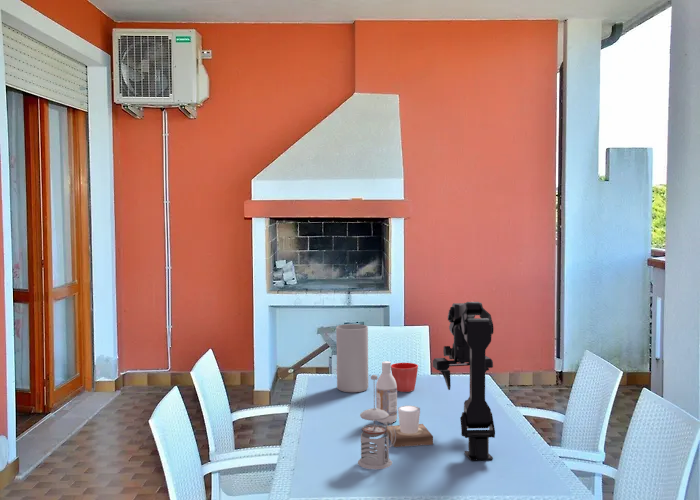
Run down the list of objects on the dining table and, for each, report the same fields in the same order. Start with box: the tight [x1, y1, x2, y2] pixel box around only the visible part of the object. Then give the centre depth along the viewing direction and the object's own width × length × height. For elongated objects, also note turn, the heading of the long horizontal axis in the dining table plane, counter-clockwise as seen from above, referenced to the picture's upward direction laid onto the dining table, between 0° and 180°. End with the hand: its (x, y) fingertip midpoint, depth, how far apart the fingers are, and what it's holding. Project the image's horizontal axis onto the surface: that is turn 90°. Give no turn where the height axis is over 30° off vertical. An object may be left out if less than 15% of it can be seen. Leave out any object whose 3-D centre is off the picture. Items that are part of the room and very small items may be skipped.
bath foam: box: [375, 360, 398, 424], centre depth 222 cm, size 7×7×20 cm
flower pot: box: [391, 362, 419, 393], centre depth 261 cm, size 11×11×10 cm
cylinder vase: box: [335, 323, 369, 393], centre depth 263 cm, size 12×12×25 cm
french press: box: [357, 374, 396, 470], centre depth 184 cm, size 10×12×25 cm
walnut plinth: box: [386, 423, 434, 448], centre depth 205 cm, size 12×12×3 cm
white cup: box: [397, 405, 421, 434], centre depth 204 cm, size 7×7×7 cm
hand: (462, 389), depth 215 cm, fingers open, 9 cm apart
